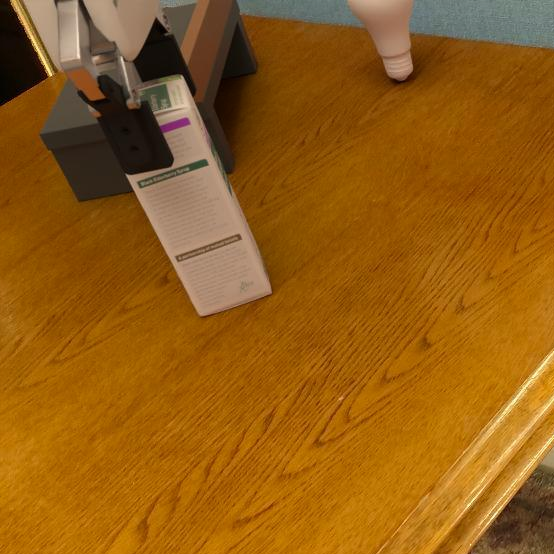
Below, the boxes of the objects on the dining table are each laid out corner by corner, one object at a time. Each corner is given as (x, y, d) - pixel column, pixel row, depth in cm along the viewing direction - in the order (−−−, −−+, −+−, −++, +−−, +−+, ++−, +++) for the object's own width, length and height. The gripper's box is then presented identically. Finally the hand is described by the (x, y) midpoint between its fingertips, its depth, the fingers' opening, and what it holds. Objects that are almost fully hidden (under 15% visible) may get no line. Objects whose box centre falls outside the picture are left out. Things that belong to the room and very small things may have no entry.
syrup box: (275, 294, 73) (194, 102, 63) (197, 320, 73) (102, 130, 62) (262, 256, 77) (184, 68, 66) (188, 281, 76) (96, 95, 66)
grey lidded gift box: (77, 204, 87) (18, 98, 80) (126, 87, 103) (81, -11, 96) (232, 175, 87) (187, 65, 80) (258, 62, 102) (222, -39, 95)
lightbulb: (394, 101, 91) (360, -28, 83) (358, 84, 95) (322, -41, 87) (446, 74, 93) (418, -55, 85) (409, 58, 97) (378, -67, 89)
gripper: (-1, -200, 59) (133, 86, 72) (-101, -110, 47) (80, 212, 60) (121, -228, 59) (234, 65, 71) (50, -144, 47) (200, 188, 60)
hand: (163, 132), depth 66 cm, fingers open, 9 cm apart
